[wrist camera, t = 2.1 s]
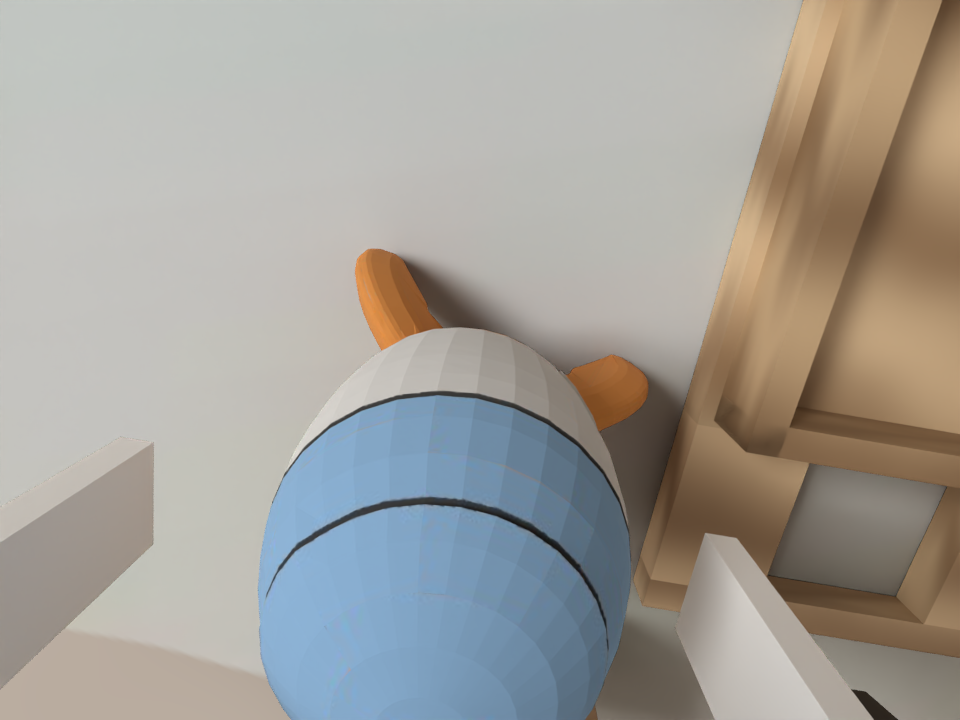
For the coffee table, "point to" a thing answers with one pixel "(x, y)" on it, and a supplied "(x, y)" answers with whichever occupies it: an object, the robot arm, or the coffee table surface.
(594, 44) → the coffee table surface
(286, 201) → the coffee table surface
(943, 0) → the tray
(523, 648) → the toy rocket
